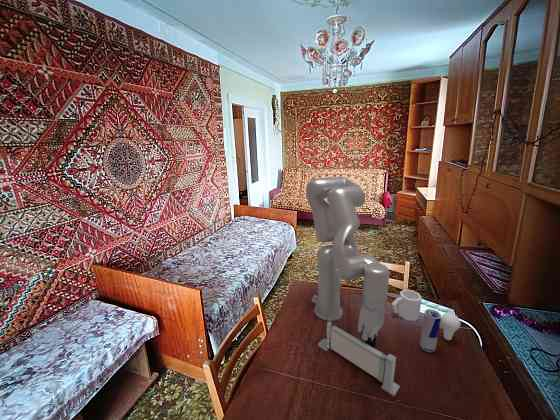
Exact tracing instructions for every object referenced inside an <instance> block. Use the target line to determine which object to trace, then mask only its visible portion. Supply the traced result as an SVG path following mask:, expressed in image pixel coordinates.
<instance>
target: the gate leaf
mask: <svg viewBox="0 0 560 420" xmlns="http://www.w3.org/2000/svg"><path fill="white" fill-rule="evenodd" d="M330 350H332V351H334V352H335V353H338V354H339V355H340V356H342V357H344V359H346V360H347V361H349V362H351V363H352V364H354V365H355V366H356V367H359V368H360V369H362V370H363V371H365V373H368V374H369V375H371V376H373V378H375V379H377V381H379V382H380V383H382V384H383V383H384V374H385V365H386V358H387V356H388V355H387V354H385V353H384V352H382V351H380V350H378V349H376V347H375V348H373V347H371V346H369V345H368V344H366V343H365V341H362V340H361V339H359V338H357V337H355V336H353V335H351V334H350V333H348V332H347V331H344V330H343V329H341V328H339V327H337V326H336V325H332V328H331V349H330Z"/></svg>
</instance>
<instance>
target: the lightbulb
mask: <svg viewBox="0 0 560 420" xmlns="http://www.w3.org/2000/svg"><path fill="white" fill-rule="evenodd" d="M440 324H441V325H442V327H443V337H444V339H445V340H447V341H451V340H452V338H453V336H454V334H455V332H456V331H458V330H459V329H460V327H461V319H459V317H458V316H457V315H456V314H454V313H451V312H446V313H444V314H442V315H441V321H440Z"/></svg>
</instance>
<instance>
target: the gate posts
mask: <svg viewBox="0 0 560 420" xmlns="http://www.w3.org/2000/svg"><path fill="white" fill-rule="evenodd" d="M326 322H327V323H326V338H325V337H324V338H323V339H321V340H320V341H319V342H318V343H317V346H318V347H319V348H321V349H322V350H324V351H326V352H328V351H329V350H332V349H331V328H332V327H333V321H326ZM396 361H397V356H395V355H393V354H391V353H388V355H387V358H386V365H385V374H384V381H383V383H382V384H381V387H380V389H382V390H383V391H385V392H386V393H388V394H389V395H391V396H392V397H395V396H396V395H397V393H398V391H399V389H400V387H401V385H399V384H398V383H396V382H395V381H394V378H395V371H396V370H395V369H396V364H397V362H396Z"/></svg>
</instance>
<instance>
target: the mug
mask: <svg viewBox="0 0 560 420" xmlns="http://www.w3.org/2000/svg"><path fill="white" fill-rule="evenodd" d="M422 300H423V299H422V296H421V294H420V293H419V292H417V291H415V290H413V289H412V290H411V289H402V290H401V291H399V297H396V298H395V300H393V301H392V302H391V306H392V309H393V312H394V313H395V314H398V315H399V317H401V318H402V319H404V320H406V321H410V322H411V321H412V322H416V321H417V320H418V319H420V313H421V312H420V311H421V306H422Z"/></svg>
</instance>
